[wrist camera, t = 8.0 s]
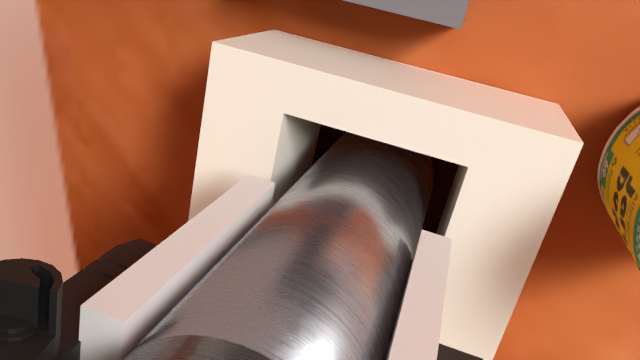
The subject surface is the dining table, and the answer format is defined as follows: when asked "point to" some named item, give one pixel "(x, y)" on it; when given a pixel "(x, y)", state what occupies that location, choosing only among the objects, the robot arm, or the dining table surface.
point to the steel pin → (311, 266)
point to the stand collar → (424, 9)
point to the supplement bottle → (623, 181)
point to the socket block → (406, 132)
